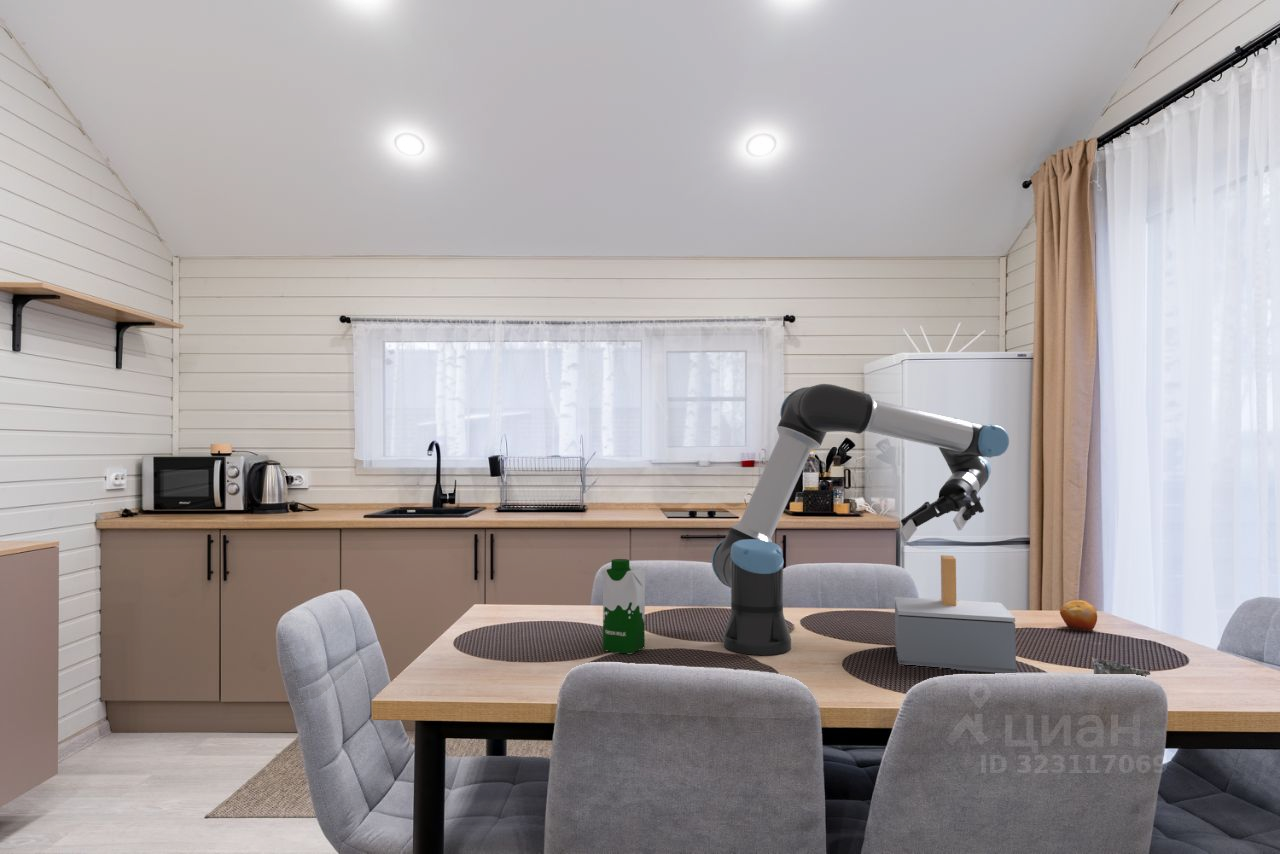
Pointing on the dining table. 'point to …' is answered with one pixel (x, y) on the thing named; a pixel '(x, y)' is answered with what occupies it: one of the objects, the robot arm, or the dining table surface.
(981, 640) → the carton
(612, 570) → the milk carton
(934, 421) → the robot arm
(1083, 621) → the fruit
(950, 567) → the box lid with handle
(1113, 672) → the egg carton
